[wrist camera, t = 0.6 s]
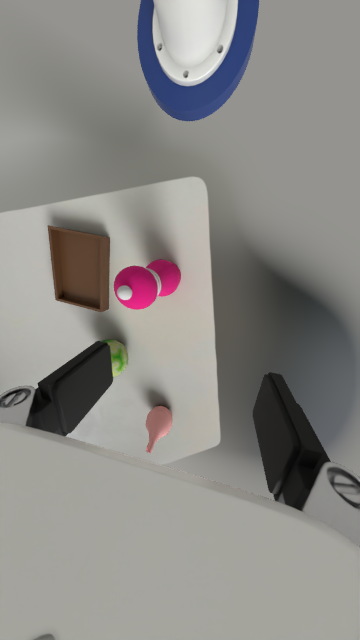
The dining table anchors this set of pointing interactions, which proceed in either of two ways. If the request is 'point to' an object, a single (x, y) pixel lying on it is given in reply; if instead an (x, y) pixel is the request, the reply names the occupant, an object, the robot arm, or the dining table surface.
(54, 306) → the dining table surface
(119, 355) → the decorative ball
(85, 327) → the dining table surface
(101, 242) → the tray
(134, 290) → the pepper mill
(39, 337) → the dining table surface
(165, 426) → the pink bulb vase
